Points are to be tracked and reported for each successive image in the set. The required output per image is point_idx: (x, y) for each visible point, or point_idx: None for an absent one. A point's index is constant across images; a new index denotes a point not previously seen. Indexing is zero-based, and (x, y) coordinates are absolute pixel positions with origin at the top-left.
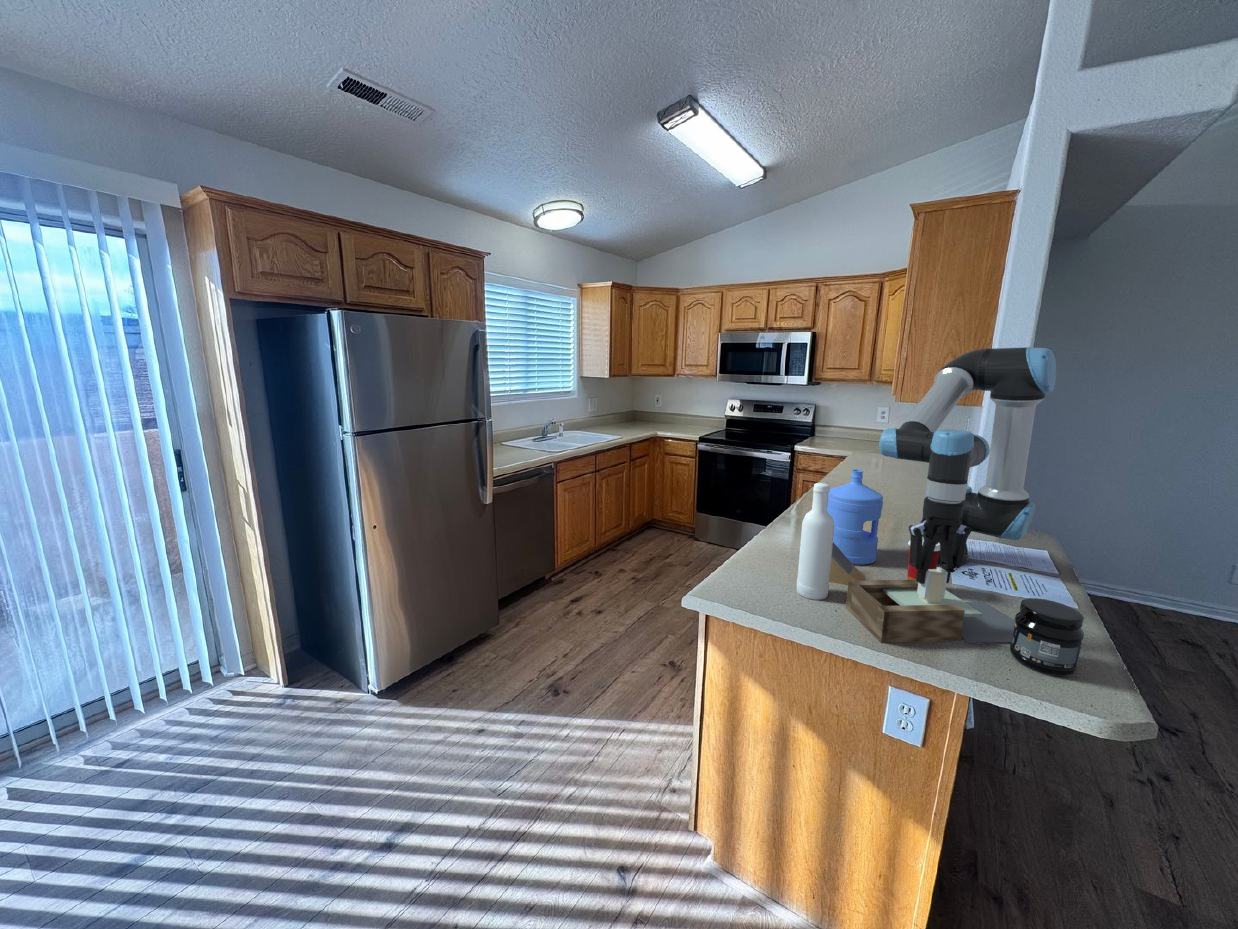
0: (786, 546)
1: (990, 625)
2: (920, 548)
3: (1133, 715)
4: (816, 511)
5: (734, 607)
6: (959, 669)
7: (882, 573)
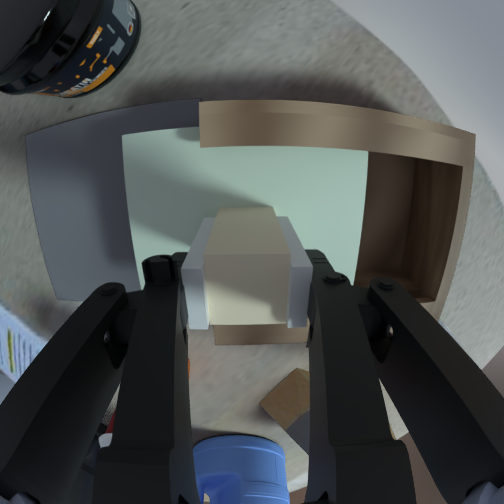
0: None
1: (89, 191)
2: (458, 374)
3: None
4: None
5: None
6: (308, 8)
7: (209, 413)
